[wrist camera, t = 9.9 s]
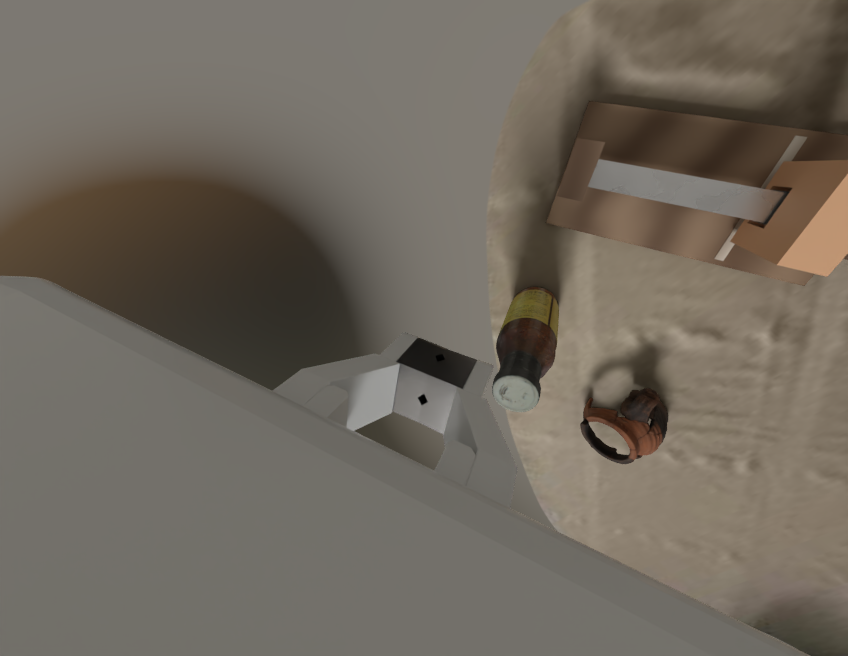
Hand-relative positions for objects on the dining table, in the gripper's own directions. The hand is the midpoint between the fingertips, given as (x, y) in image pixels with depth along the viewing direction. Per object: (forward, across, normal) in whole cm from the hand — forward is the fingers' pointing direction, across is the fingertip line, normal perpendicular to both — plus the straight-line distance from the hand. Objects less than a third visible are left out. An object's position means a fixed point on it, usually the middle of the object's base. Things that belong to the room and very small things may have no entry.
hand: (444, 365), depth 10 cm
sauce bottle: (+35, -4, +11) cm, 37 cm away
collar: (+32, -19, -6) cm, 38 cm away
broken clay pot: (+35, -20, +21) cm, 45 cm away
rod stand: (+34, -13, -6) cm, 37 cm away
